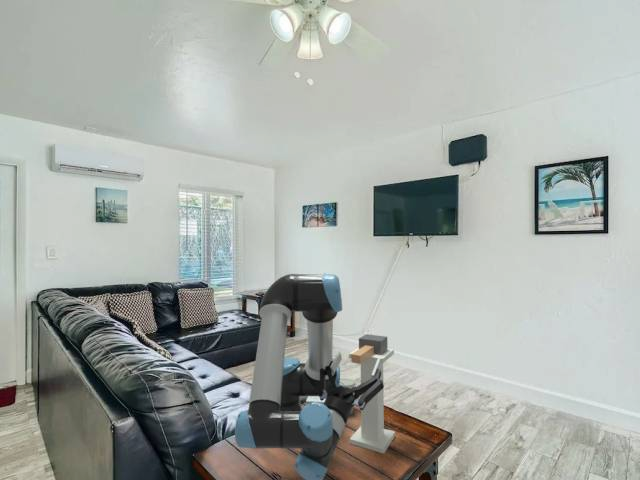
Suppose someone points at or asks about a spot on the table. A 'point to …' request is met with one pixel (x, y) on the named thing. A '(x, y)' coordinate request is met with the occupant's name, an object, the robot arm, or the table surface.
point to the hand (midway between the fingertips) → (359, 358)
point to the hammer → (369, 347)
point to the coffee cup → (349, 384)
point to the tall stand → (373, 411)
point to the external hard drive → (314, 399)
